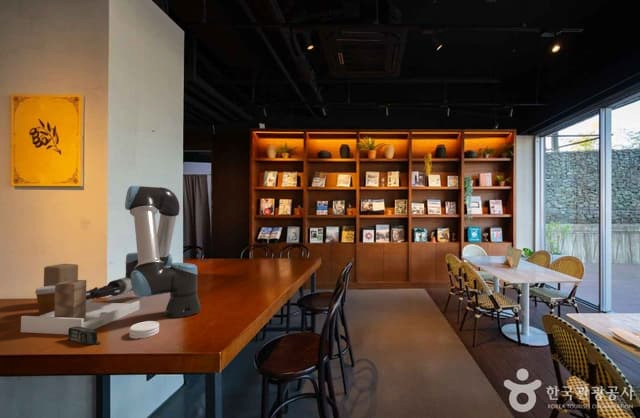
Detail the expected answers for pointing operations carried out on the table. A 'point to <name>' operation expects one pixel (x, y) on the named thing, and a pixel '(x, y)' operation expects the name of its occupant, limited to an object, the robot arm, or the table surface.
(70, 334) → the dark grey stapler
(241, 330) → the table surface
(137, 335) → the coaster
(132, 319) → the table surface
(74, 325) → the board
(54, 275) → the wooden block
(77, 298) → the walnut block
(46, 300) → the disposable coffee cup
